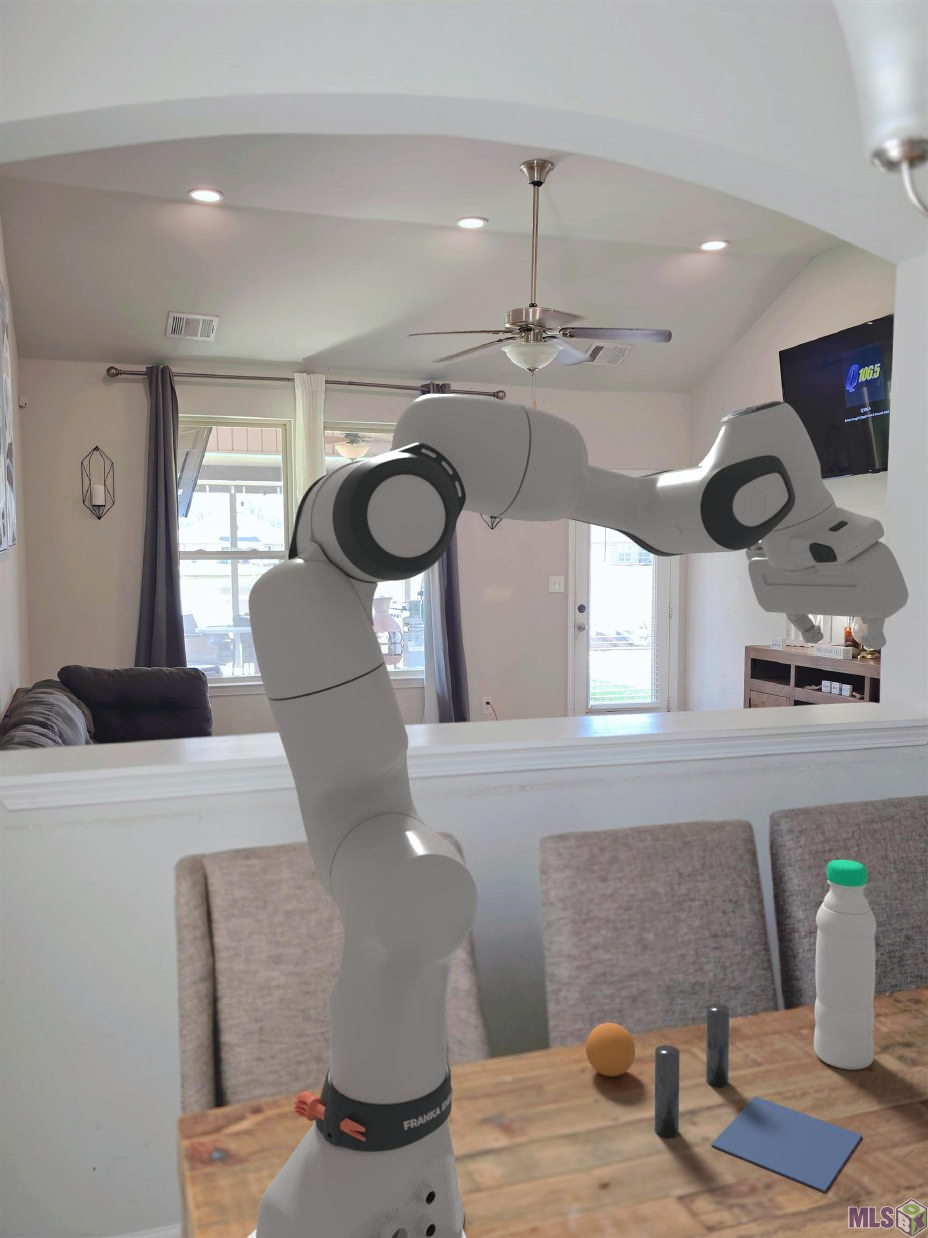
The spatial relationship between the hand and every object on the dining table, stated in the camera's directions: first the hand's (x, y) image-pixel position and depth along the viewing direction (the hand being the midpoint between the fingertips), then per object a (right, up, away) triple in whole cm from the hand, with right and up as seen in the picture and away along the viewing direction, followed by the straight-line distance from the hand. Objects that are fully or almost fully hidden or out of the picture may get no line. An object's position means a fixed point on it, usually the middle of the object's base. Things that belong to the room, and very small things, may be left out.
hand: (844, 644), depth 109 cm
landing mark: (-9, -54, -7) cm, 55 cm away
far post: (-13, -53, +5) cm, 55 cm away
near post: (-22, -54, -5) cm, 58 cm away
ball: (-26, -50, +7) cm, 57 cm away
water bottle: (+4, -53, +10) cm, 54 cm away
